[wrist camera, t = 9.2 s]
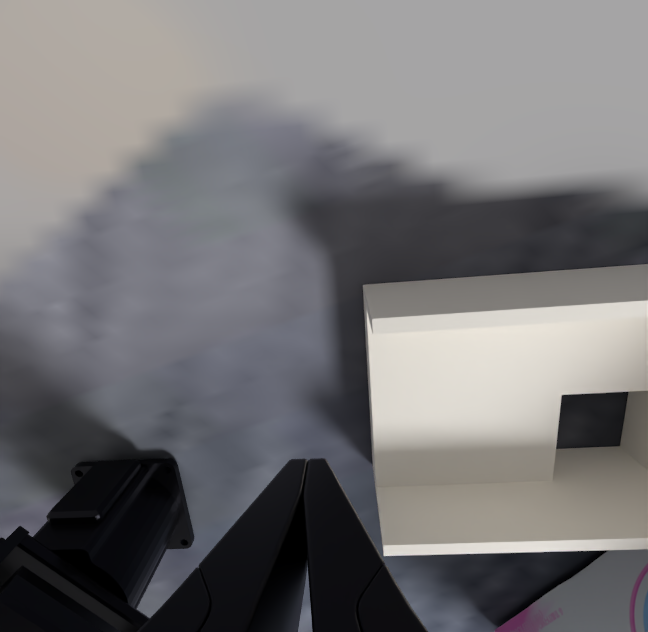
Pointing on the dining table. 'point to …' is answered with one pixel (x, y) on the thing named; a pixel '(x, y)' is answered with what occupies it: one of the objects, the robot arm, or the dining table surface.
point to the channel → (506, 411)
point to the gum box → (593, 599)
